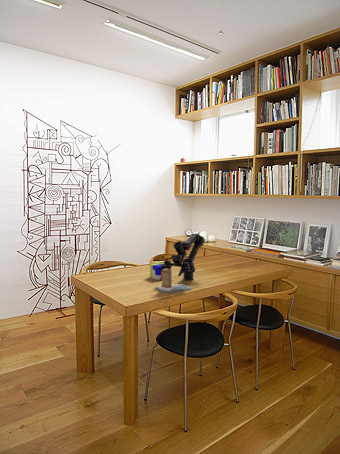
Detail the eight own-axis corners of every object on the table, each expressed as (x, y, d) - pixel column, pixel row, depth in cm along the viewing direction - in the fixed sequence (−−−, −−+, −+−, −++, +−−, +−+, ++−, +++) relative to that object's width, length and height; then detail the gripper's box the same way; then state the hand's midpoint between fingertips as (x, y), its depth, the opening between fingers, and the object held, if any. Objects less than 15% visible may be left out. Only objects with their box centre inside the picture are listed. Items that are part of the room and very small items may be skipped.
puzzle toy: (157, 279, 250) (157, 266, 250) (150, 277, 259) (150, 264, 258) (168, 278, 256) (168, 265, 255) (160, 275, 264) (160, 263, 263)
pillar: (165, 287, 227) (165, 268, 226) (171, 288, 225) (171, 269, 224) (162, 288, 223) (162, 269, 222) (167, 289, 221) (168, 270, 220)
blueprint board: (182, 285, 237) (182, 281, 237) (190, 289, 226) (190, 286, 226) (155, 288, 228) (155, 284, 227) (162, 292, 217) (162, 289, 217)
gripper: (165, 248, 238) (156, 266, 230) (188, 251, 229) (181, 270, 220) (170, 258, 246) (162, 275, 237) (193, 260, 237) (186, 279, 228)
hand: (172, 275), depth 231 cm, fingers open, 9 cm apart
